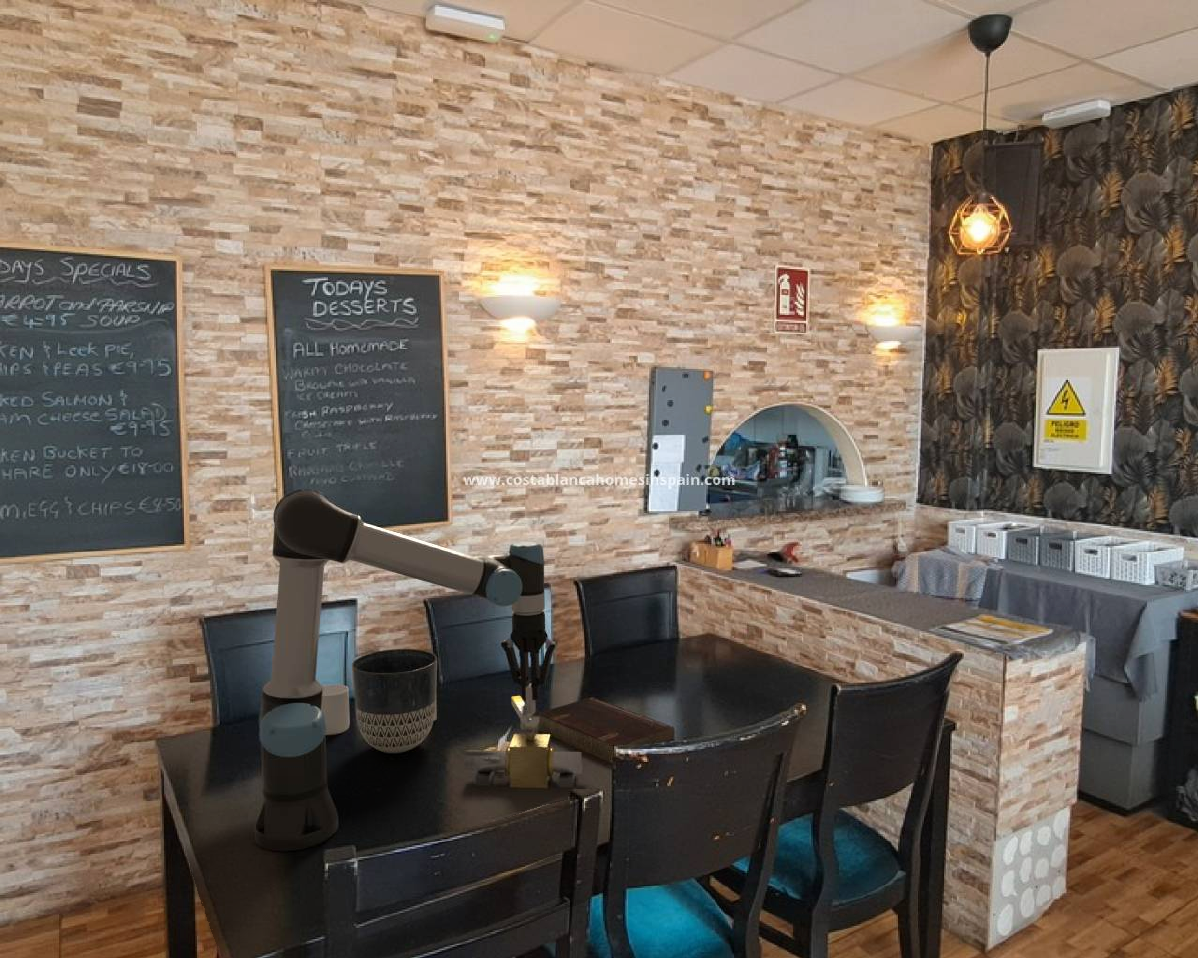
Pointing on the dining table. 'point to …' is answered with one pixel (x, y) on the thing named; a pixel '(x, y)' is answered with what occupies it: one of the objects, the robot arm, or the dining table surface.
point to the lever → (525, 715)
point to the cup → (335, 708)
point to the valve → (525, 762)
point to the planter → (395, 697)
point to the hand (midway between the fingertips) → (530, 713)
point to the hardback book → (601, 727)
